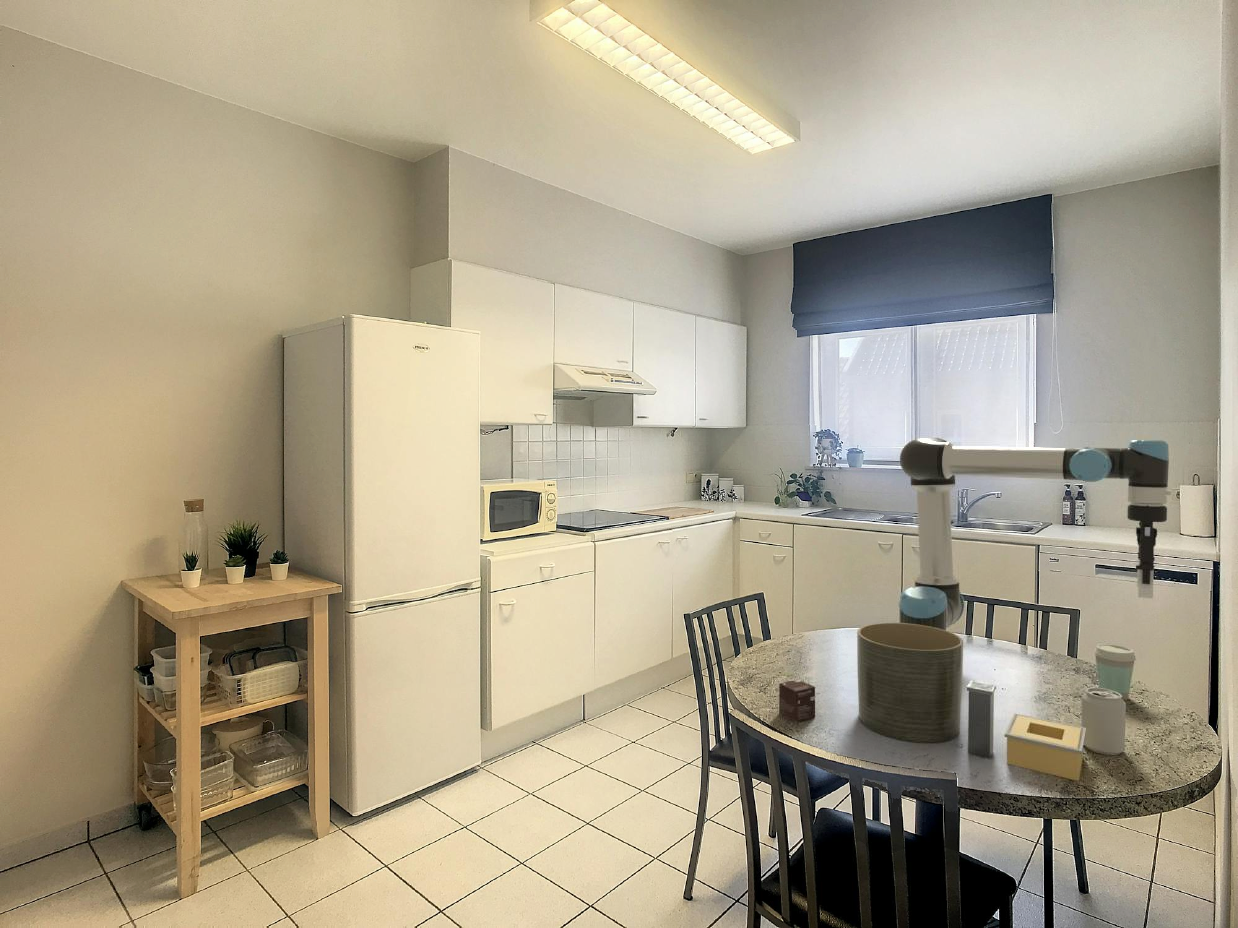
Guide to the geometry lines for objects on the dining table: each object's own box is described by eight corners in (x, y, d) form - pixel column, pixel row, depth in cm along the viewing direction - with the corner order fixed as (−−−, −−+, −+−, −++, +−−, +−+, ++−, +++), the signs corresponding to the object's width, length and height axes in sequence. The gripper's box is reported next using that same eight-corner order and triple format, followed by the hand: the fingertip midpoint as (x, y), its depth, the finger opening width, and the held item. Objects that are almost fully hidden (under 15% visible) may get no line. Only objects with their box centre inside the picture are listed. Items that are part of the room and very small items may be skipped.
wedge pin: (966, 753, 142) (966, 686, 141) (970, 745, 145) (971, 680, 145) (991, 760, 139) (992, 691, 138) (995, 751, 142) (995, 684, 142)
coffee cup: (1142, 703, 167) (1143, 654, 167) (1102, 701, 169) (1103, 652, 169) (1124, 690, 176) (1125, 644, 175) (1086, 688, 177) (1087, 642, 177)
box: (795, 722, 158) (795, 691, 157) (778, 713, 163) (778, 683, 163) (815, 717, 160) (816, 686, 160) (798, 708, 166) (798, 678, 165)
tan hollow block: (1004, 763, 137) (1004, 733, 137) (1013, 740, 148) (1013, 712, 147) (1081, 782, 130) (1081, 750, 129) (1085, 756, 140) (1086, 727, 140)
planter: (947, 707, 166) (948, 624, 165) (975, 748, 144) (976, 653, 143) (851, 701, 170) (851, 620, 170) (863, 739, 149) (864, 647, 148)
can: (1072, 741, 147) (1073, 686, 146) (1105, 739, 148) (1106, 684, 147) (1099, 757, 139) (1100, 699, 139) (1134, 756, 140) (1135, 697, 140)
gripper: (1170, 509, 153) (1167, 604, 154) (1164, 501, 173) (1162, 584, 174) (1128, 507, 157) (1125, 599, 158) (1127, 499, 178) (1125, 581, 178)
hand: (1144, 592), depth 166 cm, fingers open, 13 cm apart
